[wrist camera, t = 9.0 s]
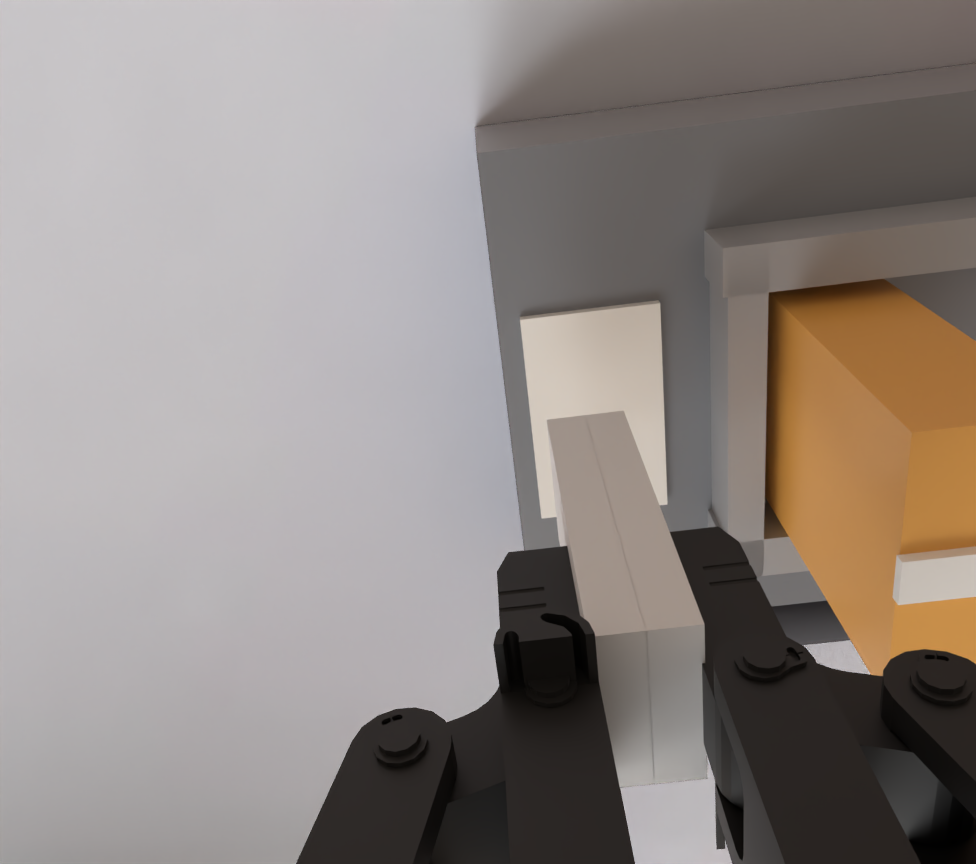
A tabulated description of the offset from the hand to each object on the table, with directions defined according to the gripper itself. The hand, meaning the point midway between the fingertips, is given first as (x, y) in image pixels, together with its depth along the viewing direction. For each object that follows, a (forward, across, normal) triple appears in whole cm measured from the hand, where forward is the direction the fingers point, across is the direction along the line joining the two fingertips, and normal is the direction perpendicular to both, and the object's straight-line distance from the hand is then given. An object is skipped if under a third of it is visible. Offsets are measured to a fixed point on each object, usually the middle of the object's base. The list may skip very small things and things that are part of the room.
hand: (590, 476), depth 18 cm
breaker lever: (+3, +6, 0) cm, 6 cm away
